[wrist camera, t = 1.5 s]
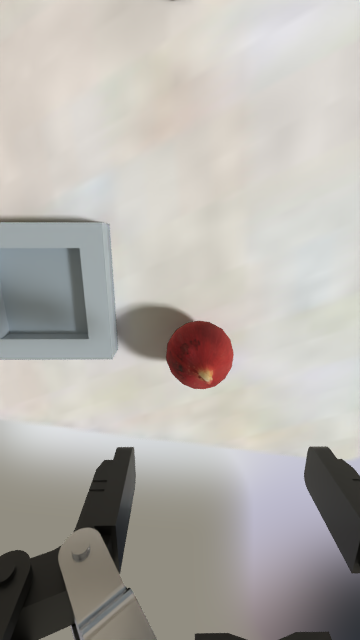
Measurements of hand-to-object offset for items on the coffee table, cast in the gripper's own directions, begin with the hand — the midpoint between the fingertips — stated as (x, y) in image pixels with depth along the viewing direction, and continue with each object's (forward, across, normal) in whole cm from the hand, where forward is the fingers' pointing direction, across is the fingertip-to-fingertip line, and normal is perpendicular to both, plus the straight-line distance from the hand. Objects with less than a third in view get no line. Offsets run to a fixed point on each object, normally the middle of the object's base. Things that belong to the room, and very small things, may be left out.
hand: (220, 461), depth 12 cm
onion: (+16, 0, 0) cm, 16 cm away
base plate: (+16, +14, -5) cm, 22 cm away
